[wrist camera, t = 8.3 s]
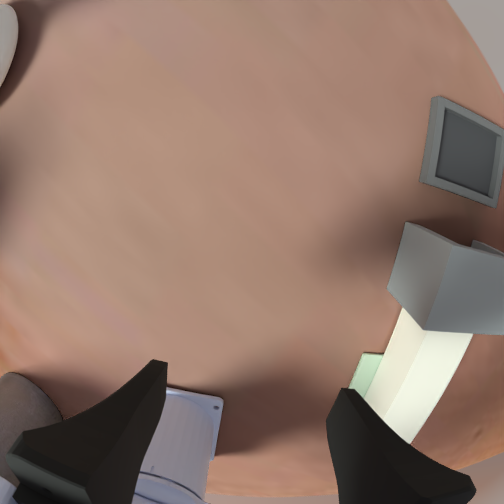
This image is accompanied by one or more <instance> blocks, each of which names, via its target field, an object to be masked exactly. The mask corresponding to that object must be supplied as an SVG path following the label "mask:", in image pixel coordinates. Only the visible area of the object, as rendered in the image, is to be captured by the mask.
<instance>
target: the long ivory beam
mask: <svg viewBox="0 0 504 504" xmlns="http://www.w3.org/2000/svg"><path fill="white" fill-rule="evenodd" d="M472 336H473V334H470V333H453V332H438V331H425V330H422V328H421V327H420V326H419V325H418V324H417V323H416V322H415V320H414V319H413V318H412V317H411V316H410V315H409V314H408V312H407V311H406V310H405V309H404V308H403V307H402V310H401V313H400V316H399V318H398V321H397V324H396V326H395V329H394V331H393V334H392V336H391V339H390V341H389V344H388V346H387V349H386V351H385V353H384V356H383V358H382V360H381V362H380V365H379V367H378V369H377V371H376V374H375V376H374V378H373V380H372V382H371V384H370V386H369V389H368V391H367V393H366V395H365V397H364V400H365V401H366V402H367V403H368V404H369V405H370V407H371V408H372V409H373V410H374V411H375V412H376V413H377V414H378V415H379V416H380V418H381V419H382V420H383V421H384V422H385V423H386V424H387V425H388V426H389V427H390V428H391V429H392V430H393V431H395V432H396V433H397V434H398V435H399V436H400V437H401V438H402V439H403V440H405V441H406V442H407V443H409V444H410V443H411V442H412V440H413V439H414V437H415V436H416V435H417V433H418V432H419V430H420V429H421V427H422V426H423V424H424V423H425V421H426V420H427V418H428V417H429V415H430V414H431V412H432V410H433V409H434V407H435V406H436V404H437V402H438V401H439V399H440V397H441V396H442V394H443V392H444V390H445V389H446V387H447V385H448V383H449V382H450V380H451V378H452V376H453V374H454V372H455V371H456V369H457V367H458V365H459V363H460V361H461V359H462V357H463V355H464V353H465V351H466V349H467V347H468V345H469V342H470V340H471V338H472Z"/></svg>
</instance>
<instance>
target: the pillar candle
mask: <svg viewBox="0 0 504 504" xmlns="http://www.w3.org/2000/svg"><path fill="white" fill-rule="evenodd" d="M61 421H63V419H62V416H61V414H60V412H59V411H58V409H57V408H56V406H55V404H54V403H53V402H52V401H51V399H50V398H49V397H48V396H47V395H46V394H45V393H44V392H43V391H42V390H41V389H40V388H39V387H38V386H36V385H35V384H34V383H32V382H31V381H30V380H28V379H27V378H25V377H23V376H21V375H19V374H16V373H10V372H9V373H6V374H4V375H3V376H2V377H1V378H0V476H1V477H2V478H4V479H6V480H7V481H9V482H10V483H11V484H13V485H14V486H15V487H16V488H17V487H18V485H19V484H20V482H19V480H18V479H17V477H16V476H15V474H14V473H13V472H12V470H11V469H10V467H9V465H8V463H7V461H6V457H5V455H6V454H7V452H8V451H9V449H10V448H11V446H12V445H13V443H14V442H15V440H16V439H17V437H18V436H19V435H20V434H21V433H22V432H23V431H26V430H32V429H36V428H41V427H45V426H49V425H52V424H55V423H58V422H61Z"/></svg>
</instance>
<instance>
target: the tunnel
mask: <svg viewBox="0 0 504 504" xmlns="http://www.w3.org/2000/svg"><path fill="white" fill-rule="evenodd" d="M387 290H388V291H389V292H390V293H391V294H392V296H393V297H394V298H395V299H396V300H397V301H398V302H399V303H400V304H401V306H402V307H403V308H404V309H405V310H406V311H407V312H408V314H409V315H410V316H411V317H412V318H413V319H414V320H415V322H416V323H417V324H418V325H419V326H420V327H421V328H422V330H425V331H438V332H453V333H470V334H491V335H504V253H503V252H501V251H499V250H497V249H495V248H493V247H491V246H489V245H487V244H485V243H483V242H479V241H476V240H473V241H472V245H471V247H468V246H464V245H460V244H457V243H455V242H454V241H452V240H450V239H448V238H446V237H444V236H441V235H439V234H437V233H435V232H433V231H431V230H429V229H427V228H425V227H423V226H421V225H418V224H414V223H410V222H405V226H404V230H403V234H402V238H401V242H400V246H399V249H398V253H397V256H396V260H395V263H394V267H393V270H392V273H391V277H390V280H389V283H388V286H387Z"/></svg>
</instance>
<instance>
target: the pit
mask: <svg viewBox="0 0 504 504" xmlns="http://www.w3.org/2000/svg"><path fill="white" fill-rule="evenodd" d="M503 168H504V129H502V128H500V127H498V126H497V125H495V124H493V123H492V122H490V121H488V120H486V119H484V118H483V117H481V116H479V115H477V114H475V113H473V112H471V111H469V110H467V109H465V108H463V107H461V106H459V105H457V104H455V103H453V102H451V101H449V100H447V99H445V98H443V97H440V96H436V97H433V98H431V108H430V117H429V124H428V132H427V139H426V145H425V151H424V157H423V163H422V169H421V174H420V179H419V182H422V183H425V184H428V185H431V186H434V187H437V188H440V189H443V190H446V191H449V192H451V193H454V194H457V195H460V196H463V197H465V198H468V199H471V200H473V201H476V202H479V203H481V204H484V205H486V206H489V207H492V208H496V207H497V202H498V197H499V192H500V187H501V181H502V175H503Z"/></svg>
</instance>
